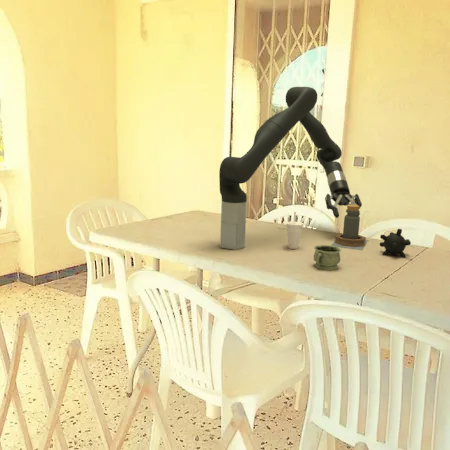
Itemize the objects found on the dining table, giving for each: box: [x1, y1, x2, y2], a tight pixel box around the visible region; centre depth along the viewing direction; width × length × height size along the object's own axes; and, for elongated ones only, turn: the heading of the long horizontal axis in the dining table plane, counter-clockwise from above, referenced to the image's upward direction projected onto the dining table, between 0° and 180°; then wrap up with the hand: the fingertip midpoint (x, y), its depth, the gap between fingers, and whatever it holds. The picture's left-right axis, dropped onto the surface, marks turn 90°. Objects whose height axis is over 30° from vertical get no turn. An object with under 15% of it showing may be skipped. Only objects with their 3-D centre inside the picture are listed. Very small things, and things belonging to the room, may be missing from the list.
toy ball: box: [379, 228, 412, 259], centre depth 171 cm, size 11×11×12 cm
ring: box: [334, 233, 367, 247], centre depth 186 cm, size 11×11×2 cm
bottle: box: [342, 205, 361, 240], centre depth 185 cm, size 6×6×15 cm
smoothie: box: [285, 211, 304, 251], centre depth 176 cm, size 6×6×14 cm
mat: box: [330, 239, 369, 251], centre depth 187 cm, size 18×12×1 cm, turn 156°
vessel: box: [313, 244, 342, 271], centre depth 155 cm, size 12×9×6 cm
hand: (347, 216), depth 189 cm, fingers open, 8 cm apart
